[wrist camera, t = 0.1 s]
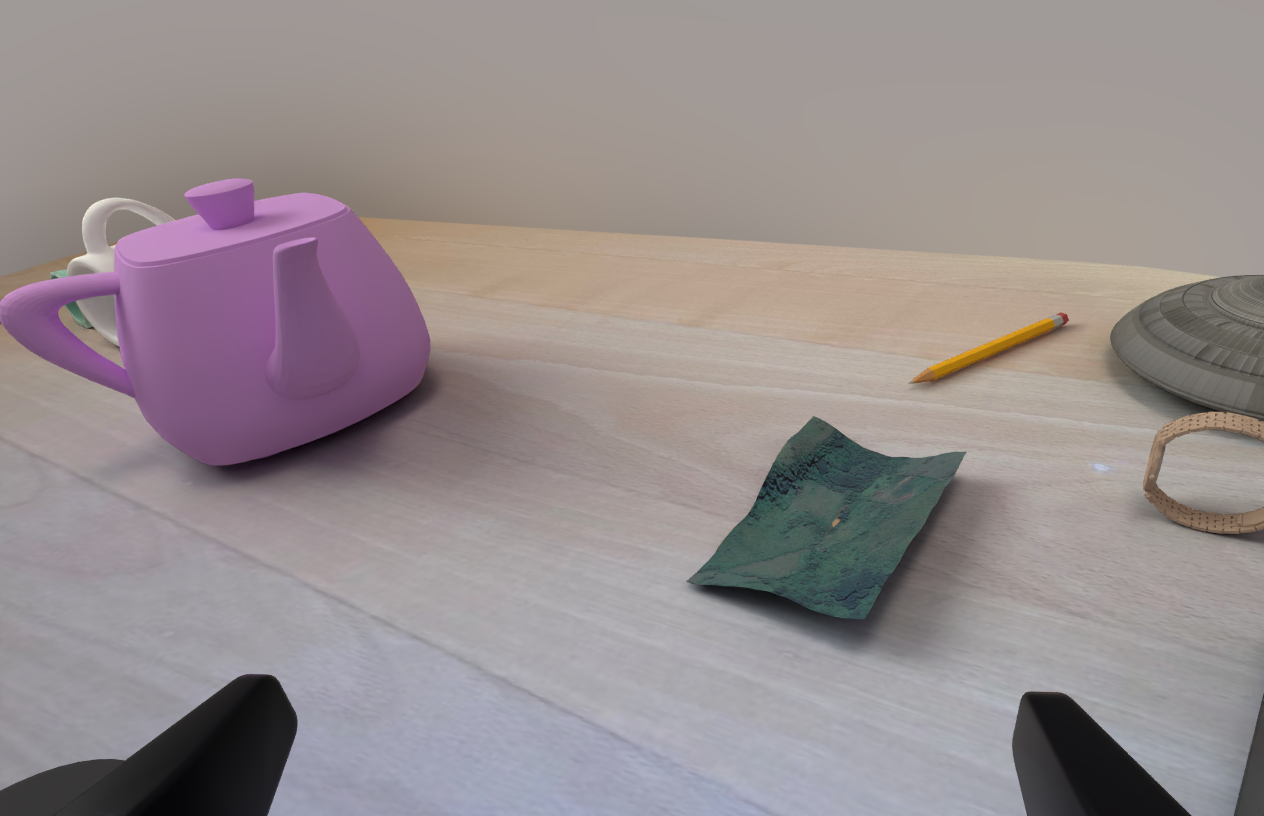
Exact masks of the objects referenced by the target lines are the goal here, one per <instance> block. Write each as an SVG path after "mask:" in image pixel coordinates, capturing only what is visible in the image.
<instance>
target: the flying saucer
mask: <svg viewBox="0 0 1264 816" xmlns="http://www.w3.org/2000/svg"><path fill="white" fill-rule="evenodd" d="M1110 338H1111V345H1112V347H1113V349H1114V351H1115V353H1116V354H1117V356H1118V357H1119V358H1120V359H1121V360H1122V361H1123V362H1124V363H1125V364H1126V365H1127V366H1128V367H1129V368H1130V369H1132V370H1133V371H1134V372H1135V373H1137V374H1138V375H1140V376H1141V377H1143V378H1144V379H1146V380H1147V381H1149V382H1151V383H1152V384H1154V385H1156V386H1158V387H1160V388H1162V389H1164V390H1166V391H1168V392H1170V393H1172V394H1174V395H1177V396H1179V397H1182V398H1184V399H1187V400H1189V401H1192V402H1194V403H1197V404H1200V405H1203V406H1206V407H1209V408H1212V409H1215V410H1219V411H1222V412H1225V413H1227V412H1229V413H1234V414H1239V415H1242V417H1243V415H1244V416H1248V417H1251V418H1255V419H1258V421H1263V422H1264V275H1245V276H1230V277H1222V278H1215V279H1210V280H1205V281H1200V282H1196V283H1192V284H1188V285H1184V286H1180V287H1177V288H1174V289H1171V290H1168V291H1165V292H1163V293H1161V294H1159V295H1157V296H1155V297H1152V298H1150V299H1148V300H1147V301H1145V302H1143V303H1142V304H1140V305H1138V306H1137V307H1135V308H1134V309H1132V310H1131V311H1130V312H1128V313H1127V314H1126V315H1125V316H1124V317H1123V318H1122V319H1121V320H1120V321H1119V322H1118V323H1117V324H1116V325H1115V326H1114V328H1113V329H1112V332H1111V337H1110Z"/></svg>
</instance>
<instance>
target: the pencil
mask: <svg viewBox="0 0 1264 816" xmlns="http://www.w3.org/2000/svg"><path fill="white" fill-rule="evenodd" d="M1068 321H1069V319H1068V316H1067V314H1064V313H1059V314H1056V315H1054V316H1051V317H1049V318H1047V319H1044V320H1042V321H1039V322H1037V323H1035V324H1032V325H1030V326H1027V327H1025V328H1023V329H1020V330H1018V331H1015V332H1013V333H1011V334H1008V335H1006V336H1003V337H1001V338H999V339H996V340H994V341H991V342H989V343H987V344H984V345H982V346H979V347H977V348H975V349H972V350H970V351H967V352H965V353H963V354H960V355H958V356H955V357H953V358H951V359H948V360H946V361H943V362H941V363H939V364H936V365H934V366H931V367H929V368H927V369H926V370H925V371H923V372H922V373H921V374H919V375H918V376H917V377H915V378H914V379H913V380H911V381H910V382H909V383H908V384H914V383H921V382H928V381H933V380H935V379H938V378H940V377H943V376H945V375H947V374H950V373H952V372H954V371H957V370H959V369H961V368H964V367H966V366H968V365H971V364H973V363H975V362H978V361H980V360H982V359H985V358H987V357H989V356H992V355H994V354H996V353H999V352H1001V351H1003V350H1006V349H1008V348H1010V347H1013V346H1015V345H1017V344H1020V343H1022V342H1024V341H1027V340H1029V339H1032V338H1034V337H1036V336H1039V335H1041V334H1043V333H1046V332H1048V331H1050V330H1053V329H1055V328H1057V327H1060V326H1062V325H1064V324H1066V323H1067V322H1068Z"/></svg>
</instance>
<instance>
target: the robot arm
mask: <svg viewBox="0 0 1264 816" xmlns="http://www.w3.org/2000/svg"><path fill="white" fill-rule="evenodd" d="M296 732H297V715H296V712H295V710H294V709H293V707H292V705H291V703H290V701H289V699H288V697H287V696H286V694H285V692H284V690H283V688H282V686H281V684H280V682H279V681H278V680H277V678H276V677H274V676H272V675H265V674H246V675H242V676H240V677H238V678H236V679H235V680H233V681H232V682H230V683H229V684H228V685H226V686H225V687H224V688H222V689H221V690H220V691H218V692H217V693H216V694H214V695H213V696H212V697H210V698H209V699H207V700H206V701H205V702H203V703H202V704H201V705H199V706H198V707H197V708H195V709H194V710H193V711H191V712H190V713H189V714H187V715H186V716H185V717H183V718H182V719H181V720H179V721H178V722H176V723H175V724H174V725H172V726H171V727H170V728H168V729H167V730H166V731H164V732H163V733H162V734H160V735H159V736H158V737H156V738H155V739H154V740H152V741H151V742H150V743H148V744H147V745H146V746H144V747H143V748H141V749H140V750H139V751H137V752H136V753H135V754H133V755H132V756H131V757H129V758H128V759H127V760H125V761H124V762H123V763H121V764H120V765H119V766H117V767H116V768H115V769H113V770H112V771H110V772H109V773H108V774H106V775H105V776H104V777H102V778H101V779H100V780H98V781H97V782H96V783H94V784H93V785H92V786H90V787H89V788H88V789H86V790H85V791H84V792H82V793H81V794H80V795H78V796H77V797H75V798H74V799H73V800H71V801H70V802H69V803H67V804H66V805H65V806H63V807H62V808H61V809H59V810H58V811H57V812H55V813H54V814H53V815H51V816H267V815H268V812H269V810H270V807H271V804H272V801H273V798H274V795H275V793H276V790H277V787H278V784H279V781H280V778H281V776H282V773H283V770H284V767H285V764H286V761H287V759H288V756H289V753H290V750H291V747H292V744H293V742H294V739H295V736H296ZM1012 749H1013V757H1014V763H1015V767H1016V771H1017V775H1018V779H1019V783H1020V788H1021V792H1022V796H1023V800H1024V804H1025V808H1026V813H1027V816H1191V815H1190V814H1189V813H1188V812H1187V811H1186V810H1185V809H1184V808H1183V807H1182V806H1181V805H1180V804H1179V803H1178V802H1177V801H1176V800H1175V799H1174V798H1173V797H1172V796H1171V795H1170V794H1169V793H1168V792H1167V791H1166V790H1165V789H1164V788H1163V787H1162V786H1161V785H1160V784H1158V783H1157V782H1156V781H1155V780H1154V779H1153V778H1152V777H1151V776H1150V775H1149V774H1148V773H1147V772H1146V771H1145V770H1144V769H1143V768H1142V767H1141V766H1140V765H1139V764H1138V763H1137V762H1136V761H1135V760H1134V759H1133V758H1132V757H1131V756H1130V755H1129V754H1128V753H1127V752H1126V751H1125V750H1124V749H1123V748H1122V747H1121V746H1120V745H1119V744H1118V743H1117V742H1116V741H1115V740H1114V739H1113V738H1112V737H1111V736H1110V735H1109V734H1107V733H1106V732H1105V731H1104V730H1103V729H1102V728H1101V727H1100V726H1099V725H1098V724H1097V723H1096V722H1095V721H1094V720H1093V719H1092V718H1091V717H1090V716H1089V715H1088V714H1087V713H1086V712H1085V711H1084V710H1083V709H1082V708H1081V707H1080V706H1079V705H1078V704H1077V703H1076V702H1075V701H1074V700H1073V699H1072V698H1070V697H1069V696H1067V695H1065V694H1063V693H1059V692H1026V693H1025V694H1024V695H1023V696H1022V698H1021V701H1020V706H1019V710H1018V715H1017V720H1016V725H1015V729H1014V734H1013V740H1012Z"/></svg>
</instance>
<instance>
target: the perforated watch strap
mask: <svg viewBox="0 0 1264 816" xmlns="http://www.w3.org/2000/svg"><path fill="white" fill-rule="evenodd" d="M1206 428H1207V429H1206ZM1224 429H1225V431H1230V432H1236V433H1240V432H1241V433H1242V434H1245V435H1248V436H1251V437H1254V438H1257V437H1258V439H1259V440H1261V441H1263V442H1264V422H1263V421H1258V419H1255V418H1251V417H1248V416H1244V415H1243V417H1242V415H1239V414H1234V413H1229V412H1227V413H1226V414H1224V412H1209V413H1208V415H1207V412H1206V413H1199V414H1192V417H1191V416H1190V415H1188V416H1185V417H1183V418H1180V419H1177V421H1175V420H1174V421H1172V422H1169V423H1166V424H1164V426H1163V429H1162V430H1161V431H1158V432H1157V434H1156V436H1155V439H1154V442H1153V445H1152V449H1151V453H1150V456H1149V460H1148V464H1147V468H1146V473H1145V477H1144V482H1143V490H1145V491H1146V493H1145V497H1146V499H1148V500H1149V501H1150V503H1153V504H1154V505H1155V507H1156V508H1157V509H1158V510H1159V511H1160V512H1161V513H1164V515H1165V516H1167V517H1168V518H1170V519H1171V520H1173V521H1175V520H1176V521H1177V523H1179V524H1182V525H1184V526H1187V527H1190V526H1191V528H1192V529H1196V530H1201V531H1206V530H1207V532H1213V533H1220V534H1223V531H1224V534H1240V533H1239V531H1241V533H1248V532H1256V531H1257V530H1258V531H1259V530H1262V529H1264V507H1262V508H1260V509H1257V510H1255V511H1251V512H1247V513H1239V514H1225V515H1224V516H1223V514H1218V513H1208V512H1204V511H1200V510H1195V509H1193V510H1192V508H1190V507H1187V506H1185V505H1182V504H1179V503H1178V502H1176V501H1175V500H1173V499H1171V498H1170V497H1168V496H1167V495H1166V494H1165V493H1164V492H1163V491H1162V490H1161V489H1159V488H1158V486H1157V484H1156V480H1157V477H1158V474H1159V471H1160V468H1161V464H1162V460H1163V455H1164V451H1165V446H1166V444H1167V443H1169V442H1170V441H1171V440H1173V439H1174V438H1175V437H1179V436H1182V435H1185V434H1188V433H1190V431H1191V432H1197V431H1203V430H1224Z"/></svg>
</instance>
